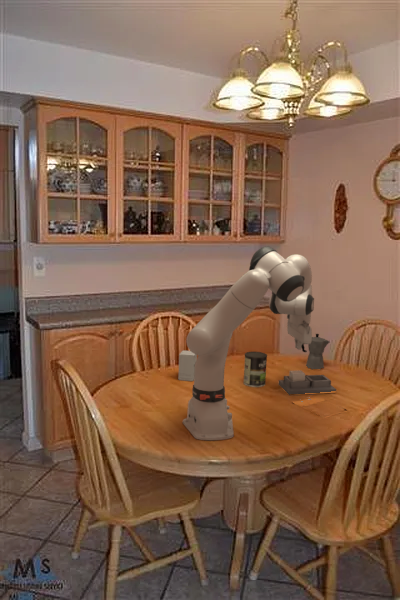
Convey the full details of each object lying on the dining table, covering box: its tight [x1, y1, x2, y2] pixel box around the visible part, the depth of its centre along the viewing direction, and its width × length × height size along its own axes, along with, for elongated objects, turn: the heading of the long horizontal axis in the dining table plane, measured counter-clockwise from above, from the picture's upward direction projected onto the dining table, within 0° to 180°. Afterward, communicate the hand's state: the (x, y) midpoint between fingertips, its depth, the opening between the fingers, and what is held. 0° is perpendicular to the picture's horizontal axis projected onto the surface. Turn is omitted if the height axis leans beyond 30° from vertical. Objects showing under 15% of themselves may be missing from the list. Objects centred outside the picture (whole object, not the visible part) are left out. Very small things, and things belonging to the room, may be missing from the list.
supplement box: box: [177, 350, 198, 382], centre depth 234 cm, size 7×7×13 cm
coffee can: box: [243, 351, 268, 388], centre depth 230 cm, size 10×10×14 cm
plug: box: [288, 369, 306, 381], centre depth 225 cm, size 5×6×6 cm
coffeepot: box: [301, 333, 331, 370], centre depth 258 cm, size 15×9×18 cm, turn 67°
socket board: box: [277, 374, 337, 396], centre depth 226 cm, size 14×22×5 cm, turn 100°
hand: (298, 348), depth 222 cm, fingers closed
